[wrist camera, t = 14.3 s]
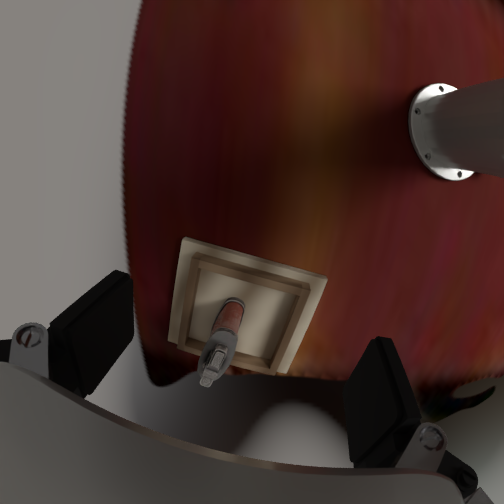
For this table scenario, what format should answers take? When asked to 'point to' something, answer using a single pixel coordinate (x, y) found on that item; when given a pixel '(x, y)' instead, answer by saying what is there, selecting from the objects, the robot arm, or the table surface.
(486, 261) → the table surface
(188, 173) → the table surface
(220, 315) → the lighter
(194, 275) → the square beige tray
